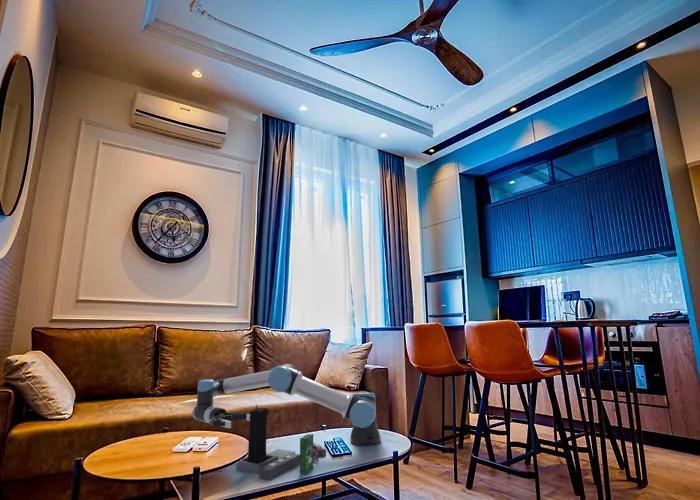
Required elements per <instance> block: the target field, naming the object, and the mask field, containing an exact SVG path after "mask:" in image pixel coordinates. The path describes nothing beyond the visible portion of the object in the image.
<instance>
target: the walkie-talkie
mask: <svg viewBox="0 0 700 500" xmlns="http://www.w3.org/2000/svg"><path fill="white" fill-rule="evenodd" d="M326 456H327V449H325V447H322V445H320V444H318V443H315V442H313V461H315V462H319V458H320V457H326Z"/></svg>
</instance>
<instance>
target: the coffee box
mask: <svg viewBox="0 0 700 500" xmlns="http://www.w3.org/2000/svg"><path fill="white" fill-rule="evenodd" d="M313 443H314V434H313V433H307V434H305V435H304V436H302V437H301V438H299V454H300V464H299V475H307V474H308V473H309V472H310V471H311V470H313V468H314V459H313Z"/></svg>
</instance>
